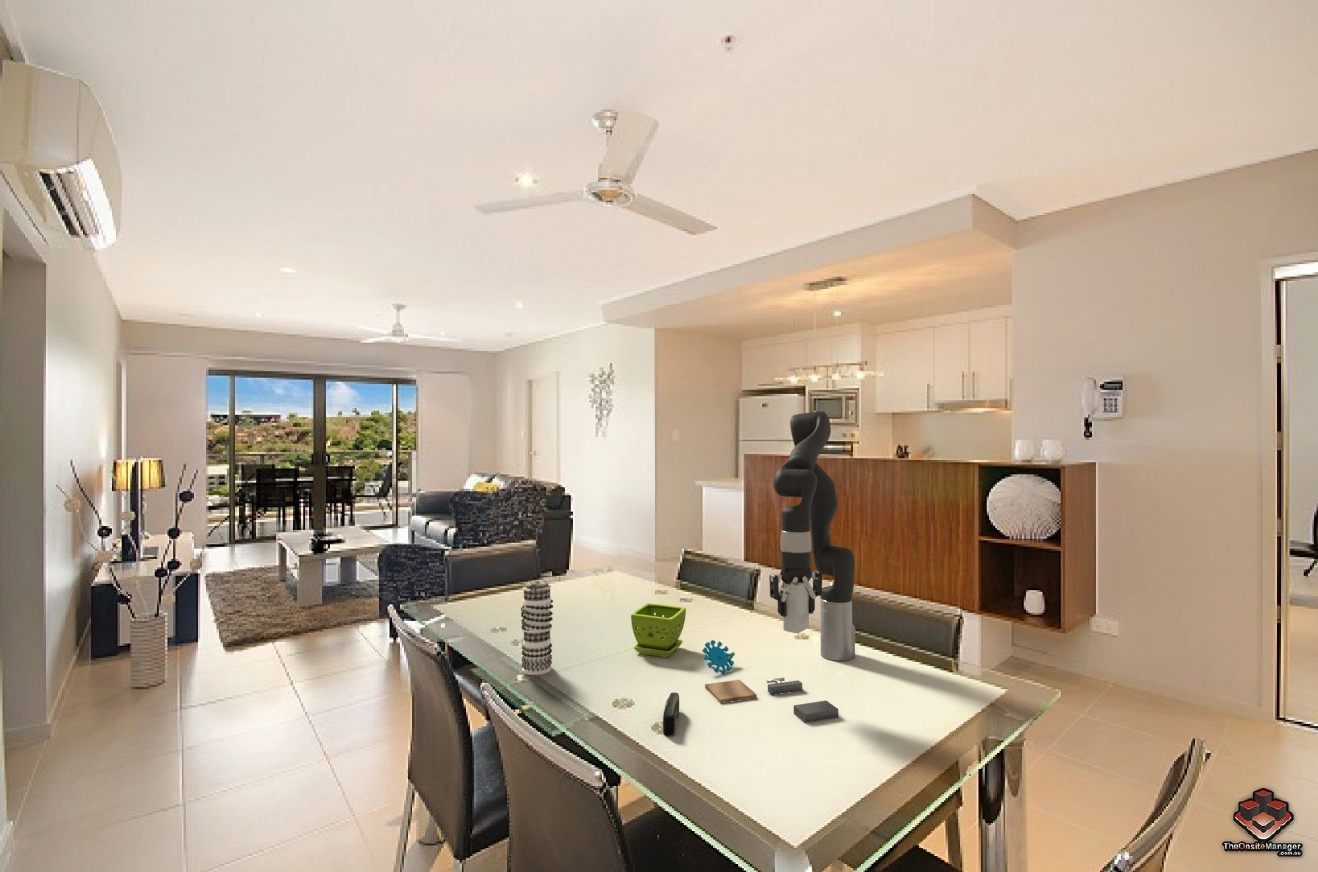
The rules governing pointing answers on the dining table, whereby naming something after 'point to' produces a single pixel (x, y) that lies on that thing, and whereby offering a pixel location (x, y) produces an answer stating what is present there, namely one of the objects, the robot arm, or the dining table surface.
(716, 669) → the gear
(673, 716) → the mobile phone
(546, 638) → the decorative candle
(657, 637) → the flower pot
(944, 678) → the dining table surface
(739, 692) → the coaster
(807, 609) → the skincare box
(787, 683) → the dark grey blocks
